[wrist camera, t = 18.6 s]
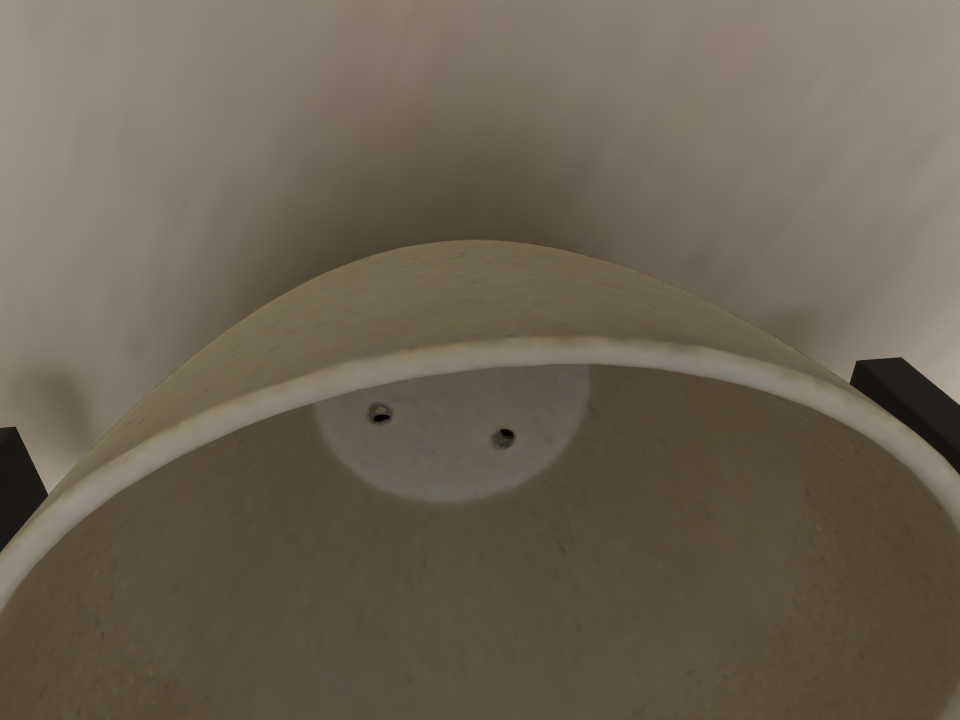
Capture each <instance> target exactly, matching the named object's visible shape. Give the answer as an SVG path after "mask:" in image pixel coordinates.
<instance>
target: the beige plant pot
mask: <svg viewBox="0 0 960 720" xmlns="http://www.w3.org/2000/svg"><path fill="white" fill-rule="evenodd" d="M378 414H386V415H388V416H389V417H390V418H388V419H386V420H383V421H374V420H373V419H374V417H375V416H377V415H378ZM502 429H509V430H510V431H512V432H513V434H512V435H505V434H503V433H501V432H500V430H502ZM0 720H960V475H959V474H958V473H957V472H956V470H955V469H954V468H953V467H952V466H951V465H950V463H949V462H948V461H947V460H946V459H945V458H944V457H943V456H942V455H941V454H940V453H939V452H938V451H936V450H935V449H934V448H933V447H932V446H931V445H930V444H928V443H927V442H926V441H925V440H924V439H923V438H921V437H920V436H919V435H918V434H917V433H916V432H914V431H913V430H912V429H910V428H909V427H908V426H906V425H905V424H904V423H902V422H901V421H900V420H898V419H897V418H895V417H894V416H893V415H891V414H890V413H889V412H887V411H886V410H885V409H883V408H882V407H881V406H879V405H878V404H877V403H875V402H874V401H873V400H871V399H870V398H868V397H867V396H865V395H864V394H863V393H861V392H860V391H858V390H857V389H855V388H854V387H853V386H851V385H850V384H848V383H847V382H845V381H844V380H843V379H841V378H840V377H838V376H837V375H835V374H834V373H832V372H831V371H829V370H827V369H826V368H824V367H823V366H821V365H820V364H818V363H817V362H815V361H813V360H812V359H810V358H809V357H807V356H806V355H804V354H802V353H801V352H799V351H798V350H796V349H794V348H793V347H791V346H790V345H788V344H786V343H784V342H783V341H781V340H779V339H777V338H776V337H774V336H772V335H770V334H769V333H767V332H765V331H763V330H762V329H760V328H758V327H756V326H754V325H752V324H750V323H748V322H747V321H745V320H743V319H741V318H739V317H737V316H735V315H734V314H732V313H730V312H728V311H726V310H724V309H722V308H720V307H718V306H716V305H714V304H712V303H710V302H708V301H706V300H704V299H702V298H700V297H697V296H695V295H693V294H691V293H689V292H687V291H684V290H682V289H680V288H678V287H675V286H673V285H671V284H668V283H666V282H664V281H661V280H659V279H657V278H654V277H651V276H648V275H646V274H643V273H640V272H638V271H635V270H632V269H629V268H627V267H624V266H621V265H618V264H615V263H612V262H608V261H604V260H601V259H597V258H593V257H590V256H586V255H582V254H578V253H574V252H570V251H566V250H562V249H557V248H553V247H547V246H541V245H534V244H528V243H520V242H509V241H497V240H453V241H442V242H434V243H427V244H420V245H413V246H407V247H401V248H397V249H393V250H390V251H386V252H382V253H379V254H375V255H372V256H369V257H366V258H363V259H360V260H357V261H354V262H351V263H348V264H345V265H343V266H340V267H338V268H335V269H333V270H331V271H328V272H326V273H323V274H321V275H319V276H317V277H315V278H313V279H311V280H309V281H307V282H305V283H303V284H301V285H299V286H297V287H295V288H293V289H292V290H290V291H288V292H286V293H284V294H283V295H281V296H279V297H277V298H276V299H274V300H272V301H271V302H269V303H267V304H265V305H264V306H262V307H260V308H259V309H257V310H256V311H254V312H253V313H251V314H250V315H249V316H247V317H246V318H244V319H243V320H241V321H240V322H238V323H237V324H235V325H234V326H233V327H231V328H230V329H228V330H227V331H225V332H224V333H222V334H221V335H219V336H218V337H217V338H215V339H214V340H213V341H212V342H210V343H209V344H208V345H206V346H205V347H204V348H202V349H201V350H200V351H199V352H197V353H196V354H195V355H193V356H192V357H191V358H190V359H188V360H187V361H186V362H185V363H183V364H182V365H181V366H180V367H178V368H177V369H176V370H175V371H174V372H173V373H171V374H170V375H169V376H168V377H167V378H166V379H165V380H164V381H162V382H161V383H160V384H159V385H158V386H157V387H156V388H154V389H153V390H152V391H151V392H150V393H149V394H148V395H147V396H145V397H144V398H143V399H142V400H141V401H140V402H139V403H137V404H136V405H135V406H134V407H133V408H132V409H131V410H130V411H128V412H127V413H126V414H125V415H124V416H123V418H122V419H121V420H120V421H119V422H118V423H117V424H116V425H115V426H114V427H113V428H112V429H111V430H110V431H109V432H108V433H107V434H106V435H105V436H104V437H103V438H102V439H101V440H100V441H99V442H98V443H97V444H96V445H95V446H94V447H93V448H92V449H91V450H90V451H89V452H88V453H87V454H86V455H85V456H84V457H83V458H82V459H81V460H80V461H79V462H78V463H77V464H76V465H75V466H74V467H73V469H72V470H71V471H70V472H69V473H68V474H67V475H66V476H65V477H64V479H63V480H62V481H61V482H60V483H59V484H58V485H57V486H56V488H55V489H54V490H53V491H52V492H51V493H50V494H49V496H48V497H47V498H46V499H45V500H44V501H43V503H42V504H41V505H40V506H39V507H38V509H37V510H36V511H35V512H34V513H33V514H32V516H31V517H30V518H29V519H28V520H27V522H26V523H25V524H24V525H23V526H22V527H21V529H20V530H19V531H18V532H17V533H16V535H15V536H14V537H13V538H12V539H11V540H10V542H9V543H8V544H7V545H6V546H5V548H4V549H3V550H2V551H1V552H0Z"/></svg>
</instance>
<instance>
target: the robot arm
mask: <svg viewBox="0 0 960 720" xmlns="http://www.w3.org/2000/svg"><path fill="white" fill-rule="evenodd" d="M850 385H851V386H853V387H854V388H855V389H857V390H858V391H860V392H861V393H863V394H864V395H865V396H867V397H868V398H870V399H871V400H873V401H874V402H875V403H877V404H878V405H879V406H881V407H882V408H883V409H885V410H886V411H887V412H889V413H890V414H891V415H893V416H894V417H895V418H897V419H898V420H900V421H901V422H902V423H904V424H905V425H906V426H908V427H909V428H910V429H912V430H913V431H914V432H916V433H917V434H918V435H919V436H920V437H921V438H923V439H924V440H925V441H926V442H927V443H928V444H930V445H931V446H932V447H933V448H934V449H935V450H936V451H938V452H939V453H940V454H941V455H942V456H943V457H944V458H945V459H946V460H947V461H948V462H949V463H950V465H951V466H952V467H953V468H954V469H955V470H956V472H957V473H958V474H959V475H960V405H959V404H958V403H956V402H955V401H954V400H953V399H951V398H950V397H949V396H948V395H947V394H945V393H944V392H943V391H942V390H940V389H939V388H938V387H937V386H936V385H934V384H933V383H932V382H931V381H930V380H928V379H927V378H926V377H925V376H923V375H922V374H921V373H920V372H919V371H917V370H916V369H915V368H914V367H912V366H911V365H910V364H909V363H908V362H906V361H905V360H904V359H903V358H902V357H898V358H886V359H873V360H860V361H856V364H855V368H854V371H853V374H852V377H851V381H850ZM48 496H49V495H48V493H47V491H46V489H45V487H44V485H43V483H42V481H41V479H40V477H39V474H38V472H37V470H36V468H35V466H34V464H33V462H32V460H31V458H30V456H29V454H28V451H27V449H26V447H25V445H24V443H23V441H22V439H21V437H20V435H19V433H18V431H17V428H16V427H6V428H0V552H1V551H2V550H3V549H4V548H5V546H6V545H7V544H8V543H9V542H10V540H11V539H12V538H13V537H14V536H15V535H16V533H17V532H18V531H19V530H20V529H21V527H22V526H23V525H24V524H25V523H26V522H27V520H28V519H29V518H30V517H31V516H32V514H33V513H34V512H35V511H36V510H37V509H38V507H39V506H40V505H41V504H42V503H43V501H44V500H45V499H46V498H47V497H48Z"/></svg>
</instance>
